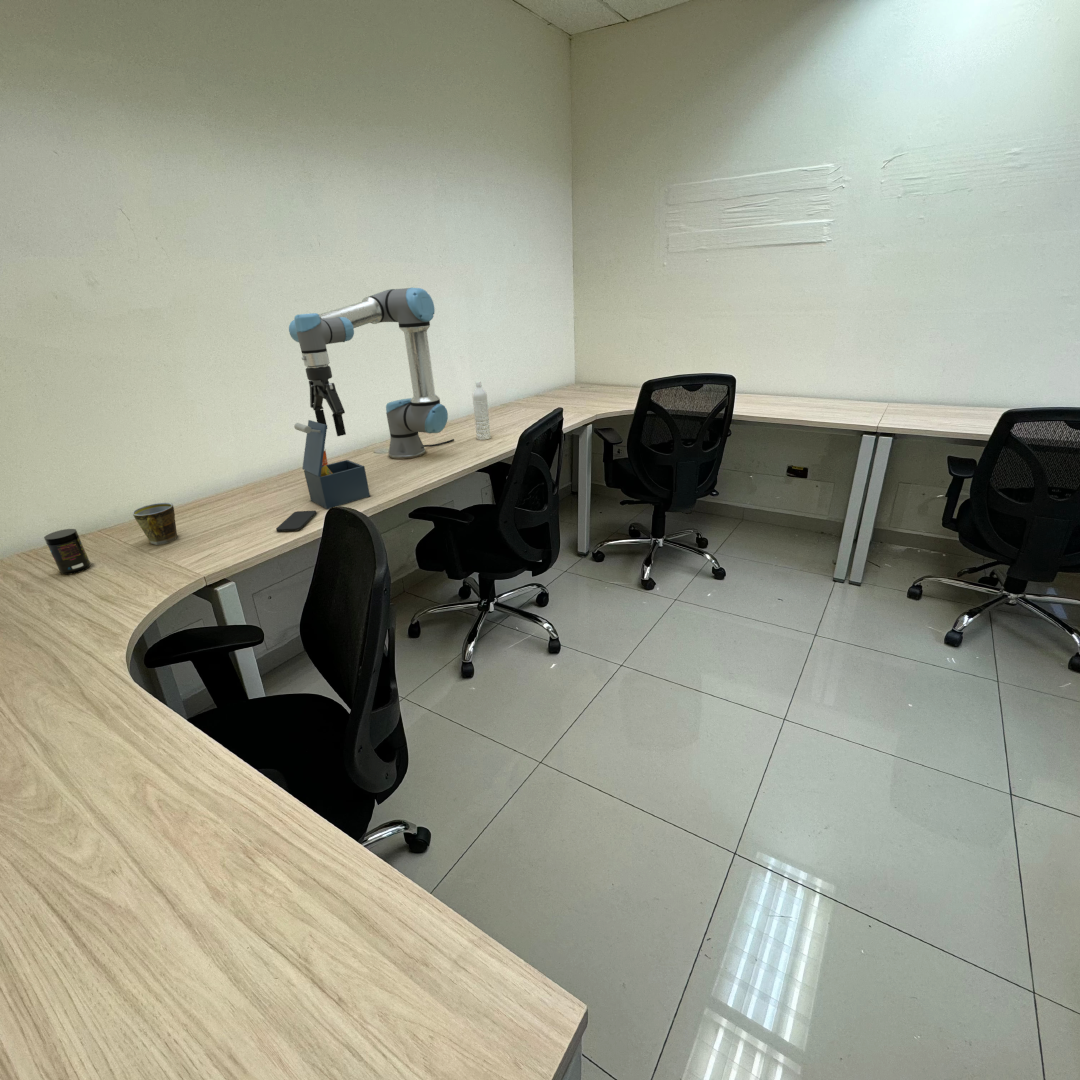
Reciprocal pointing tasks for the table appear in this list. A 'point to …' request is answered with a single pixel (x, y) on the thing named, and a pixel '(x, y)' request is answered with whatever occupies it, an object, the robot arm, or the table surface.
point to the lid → (313, 446)
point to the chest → (338, 484)
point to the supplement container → (67, 551)
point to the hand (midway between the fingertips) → (332, 432)
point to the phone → (296, 521)
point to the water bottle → (481, 413)
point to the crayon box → (325, 471)
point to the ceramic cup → (157, 522)
